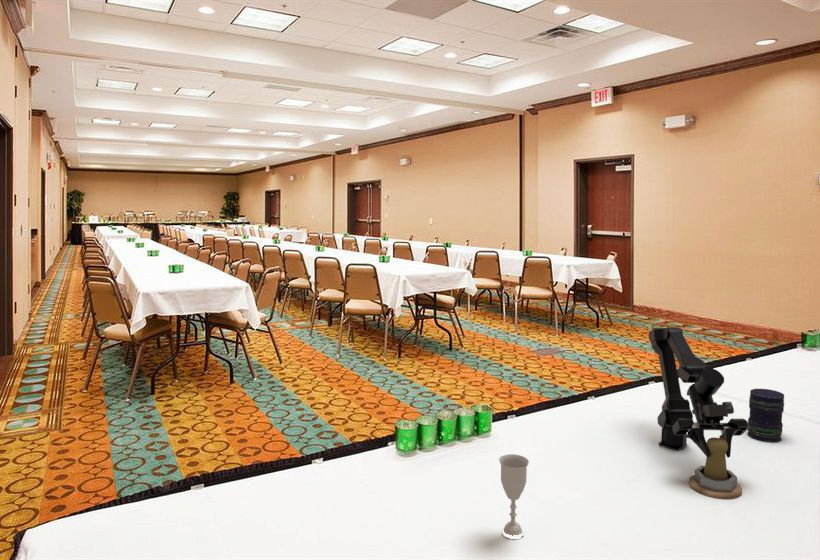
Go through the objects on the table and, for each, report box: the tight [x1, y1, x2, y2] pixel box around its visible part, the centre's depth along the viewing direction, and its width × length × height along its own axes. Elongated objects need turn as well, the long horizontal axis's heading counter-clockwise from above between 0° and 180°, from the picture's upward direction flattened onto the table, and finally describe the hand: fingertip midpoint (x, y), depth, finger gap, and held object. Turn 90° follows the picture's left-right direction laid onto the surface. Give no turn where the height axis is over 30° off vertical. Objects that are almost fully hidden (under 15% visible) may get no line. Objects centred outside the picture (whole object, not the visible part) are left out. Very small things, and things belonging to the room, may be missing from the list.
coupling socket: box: [688, 465, 743, 500], centre depth 163 cm, size 13×13×4 cm
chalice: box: [498, 453, 530, 536], centre depth 140 cm, size 7×7×18 cm
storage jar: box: [747, 388, 785, 444], centre depth 197 cm, size 10×10×15 cm
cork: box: [703, 437, 728, 480], centre depth 162 cm, size 6×6×11 cm
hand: (718, 456), depth 161 cm, fingers closed on cork, 5 cm apart
